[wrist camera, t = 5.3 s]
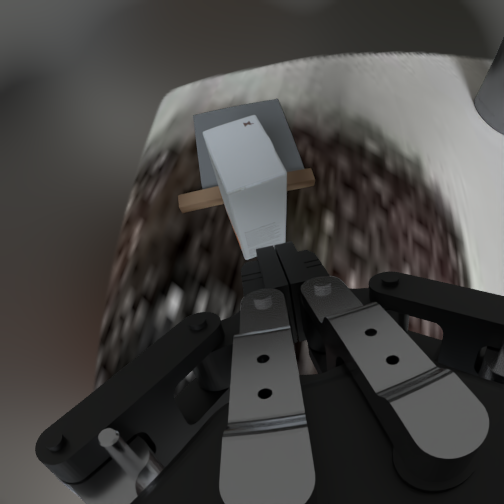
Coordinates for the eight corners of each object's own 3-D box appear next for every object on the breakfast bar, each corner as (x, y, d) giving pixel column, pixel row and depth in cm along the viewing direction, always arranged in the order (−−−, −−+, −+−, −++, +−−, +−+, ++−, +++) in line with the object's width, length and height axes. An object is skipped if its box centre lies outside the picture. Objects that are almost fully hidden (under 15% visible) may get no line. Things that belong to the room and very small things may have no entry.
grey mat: (277, 101, 38) (277, 99, 38) (304, 171, 34) (304, 169, 33) (193, 117, 38) (193, 115, 38) (203, 192, 34) (202, 190, 33)
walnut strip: (310, 174, 34) (311, 167, 32) (314, 185, 33) (315, 179, 32) (181, 201, 34) (178, 195, 32) (182, 213, 33) (179, 207, 32)
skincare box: (225, 210, 33) (200, 129, 22) (264, 196, 33) (256, 111, 22) (244, 263, 30) (225, 194, 19) (287, 247, 31) (290, 172, 20)
